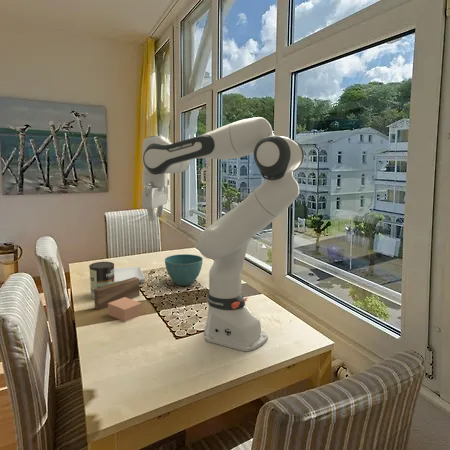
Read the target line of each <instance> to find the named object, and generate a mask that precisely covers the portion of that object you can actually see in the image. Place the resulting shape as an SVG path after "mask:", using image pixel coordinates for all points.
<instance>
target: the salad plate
mask: <svg viewBox="0 0 450 450" xmlns="http://www.w3.org/2000/svg"><path fill="white" fill-rule="evenodd" d="M133 277H136V278H139V284H140V283H142V282H144V281H145V280H146V276H145V275H144V273H143V271H142V269H141V267H139V266H132V267H130V266H129V267H118V268H115V267H114V279H115V283H116V282H120V281H123V280H127V279H130V278H133Z"/></svg>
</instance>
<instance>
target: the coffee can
mask: <svg viewBox="0 0 450 450" xmlns="http://www.w3.org/2000/svg"><path fill="white" fill-rule="evenodd" d="M88 267H89V280H90V281H89V283H90V284H89V285H90V298H92V299H94V289H96V288H99V287H103V286H106V285H109V284H113V283H115V279H114V269H115V263H114V262H112V261H111V262H110V261H97V262H93V263H91V264H89V265H88Z"/></svg>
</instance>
